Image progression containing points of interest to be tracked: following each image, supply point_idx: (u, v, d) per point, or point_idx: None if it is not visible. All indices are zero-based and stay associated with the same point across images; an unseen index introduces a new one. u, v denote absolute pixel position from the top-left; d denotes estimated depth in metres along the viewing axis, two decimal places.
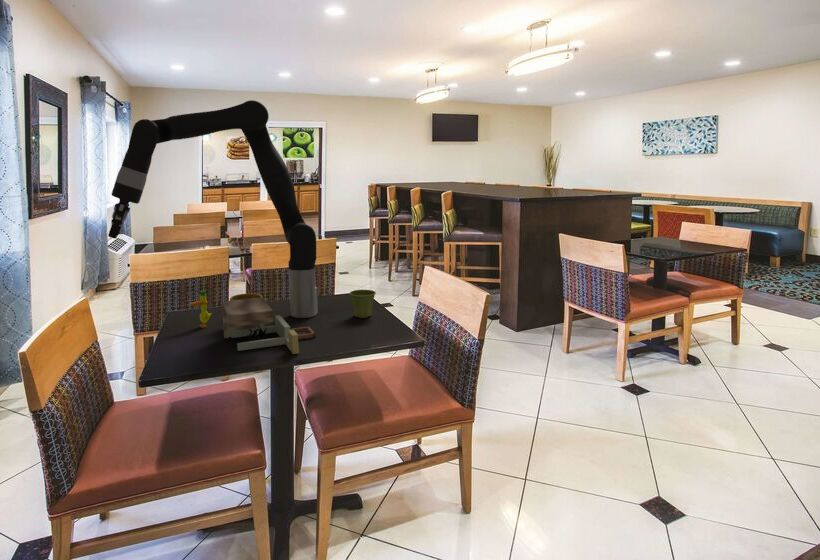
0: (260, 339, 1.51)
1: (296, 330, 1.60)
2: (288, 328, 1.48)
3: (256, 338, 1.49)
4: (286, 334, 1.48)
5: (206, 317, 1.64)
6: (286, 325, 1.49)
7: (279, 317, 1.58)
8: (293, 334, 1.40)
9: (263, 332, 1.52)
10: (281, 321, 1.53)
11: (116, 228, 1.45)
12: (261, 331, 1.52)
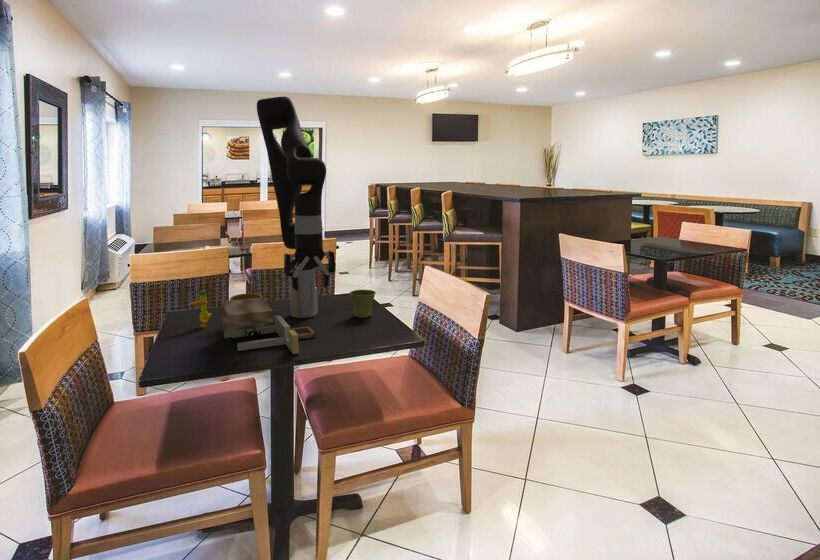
0: None
1: (296, 330, 1.60)
2: (288, 328, 1.48)
3: (250, 340, 1.47)
4: (286, 334, 1.48)
5: (206, 317, 1.64)
6: (286, 325, 1.49)
7: (279, 317, 1.58)
8: (293, 334, 1.40)
9: (258, 334, 1.50)
10: (281, 321, 1.53)
11: None
12: (256, 333, 1.50)
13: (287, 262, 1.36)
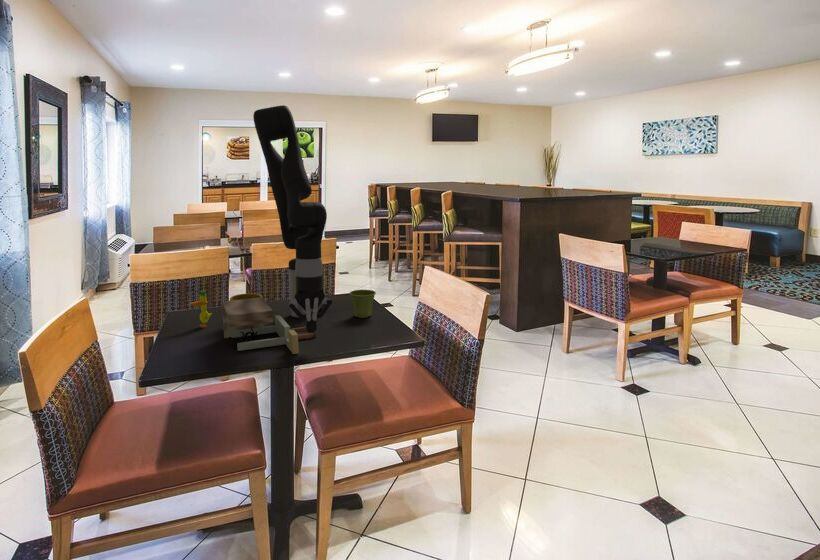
0: None
1: (296, 330, 1.60)
2: (288, 328, 1.48)
3: (246, 341, 1.46)
4: (286, 334, 1.48)
5: (206, 317, 1.64)
6: (286, 325, 1.49)
7: (279, 317, 1.58)
8: (293, 334, 1.40)
9: (255, 335, 1.49)
10: (281, 321, 1.53)
11: None
12: (253, 334, 1.49)
13: (294, 310, 1.39)
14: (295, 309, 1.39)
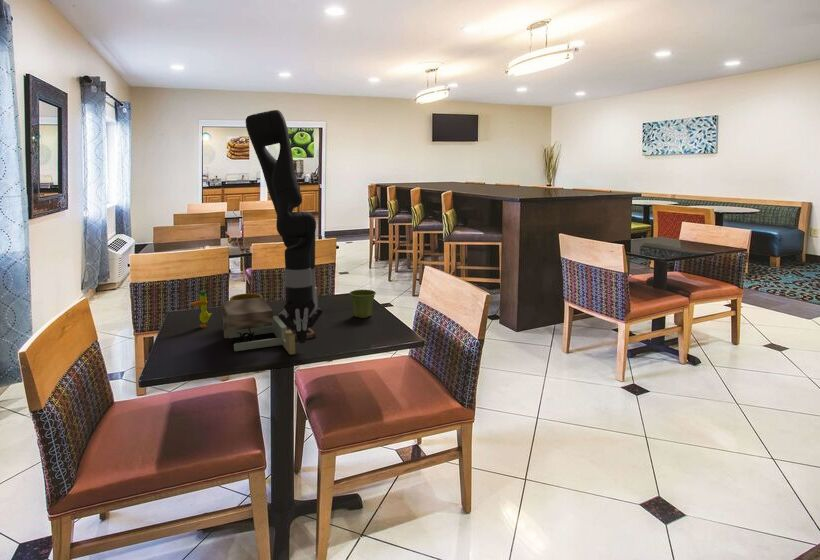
0: None
1: None
2: (285, 328, 1.48)
3: None
4: (283, 334, 1.48)
5: (206, 317, 1.64)
6: (283, 325, 1.49)
7: (276, 317, 1.57)
8: (290, 334, 1.39)
9: (252, 336, 1.48)
10: (278, 321, 1.53)
11: None
12: (250, 335, 1.48)
13: (284, 320, 1.38)
14: (285, 319, 1.38)
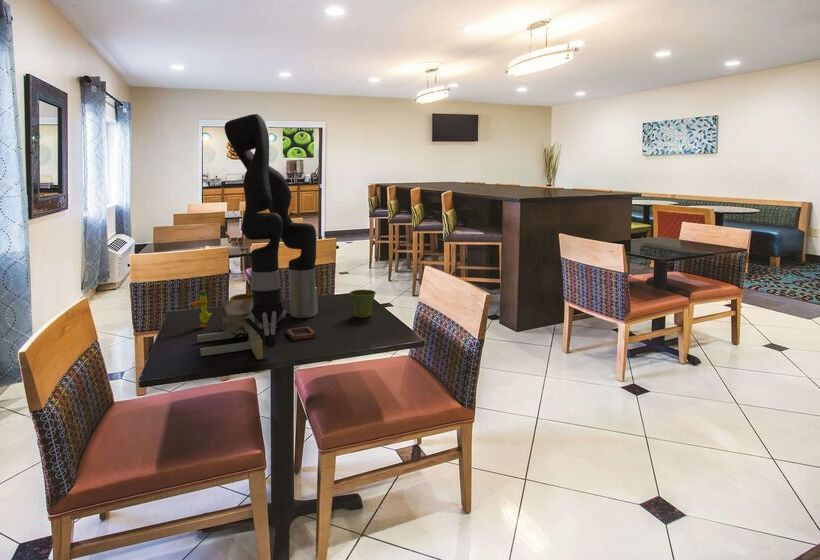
0: None
1: (296, 330, 1.60)
2: (254, 332, 1.44)
3: None
4: (252, 339, 1.44)
5: (206, 317, 1.64)
6: (252, 329, 1.45)
7: None
8: (257, 339, 1.36)
9: (246, 337, 1.47)
10: (248, 325, 1.49)
11: None
12: (244, 335, 1.47)
13: (251, 324, 1.34)
14: (252, 323, 1.35)
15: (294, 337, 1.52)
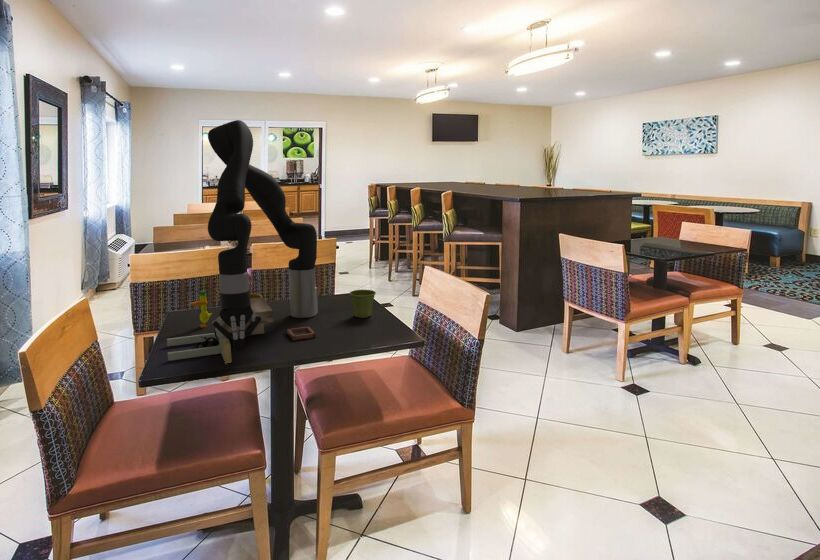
0: None
1: (296, 330, 1.60)
2: (224, 336, 1.40)
3: None
4: (222, 343, 1.40)
5: (206, 317, 1.64)
6: None
7: None
8: (225, 343, 1.32)
9: (216, 341, 1.44)
10: None
11: None
12: (215, 340, 1.44)
13: (219, 328, 1.31)
14: (220, 327, 1.31)
15: (294, 337, 1.52)
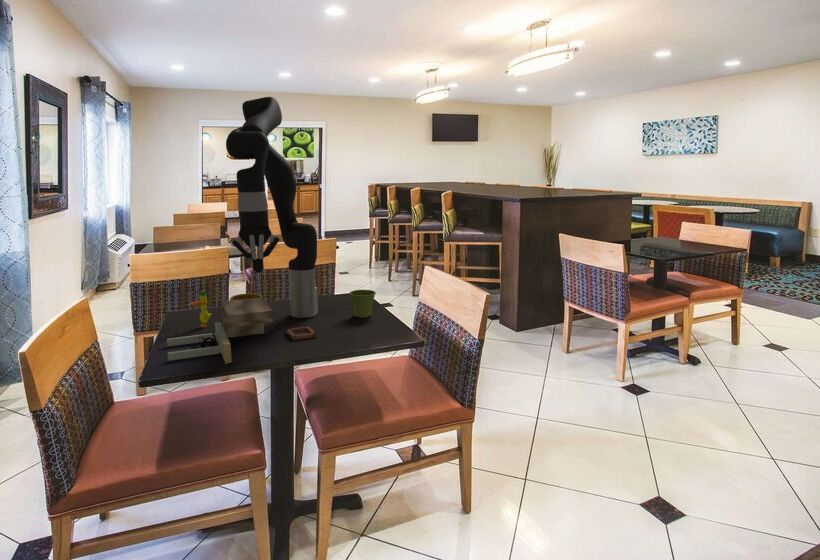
0: None
1: (296, 330, 1.60)
2: (224, 336, 1.40)
3: (203, 347, 1.41)
4: (222, 343, 1.40)
5: (206, 317, 1.64)
6: (222, 333, 1.41)
7: (218, 324, 1.50)
8: (225, 343, 1.32)
9: (214, 341, 1.43)
10: (219, 329, 1.45)
11: None
12: (213, 340, 1.44)
13: (238, 247, 1.32)
14: (239, 246, 1.33)
15: (294, 337, 1.52)
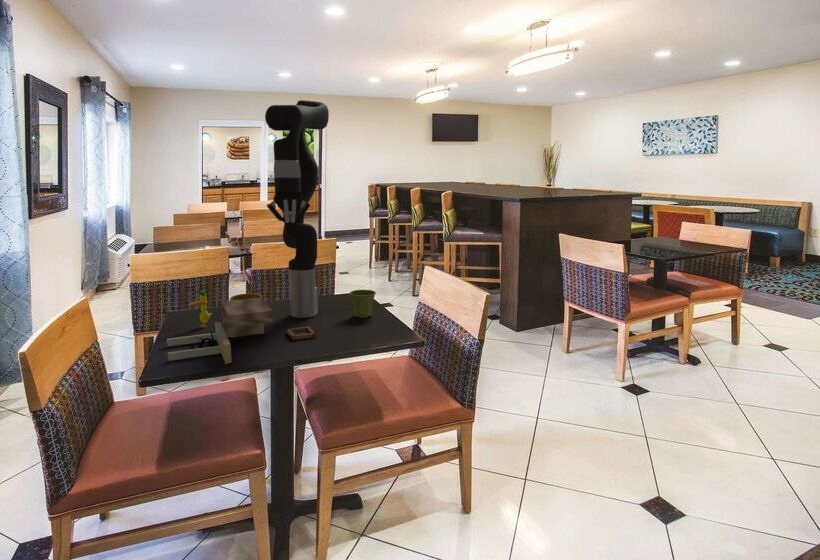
0: None
1: (296, 330, 1.60)
2: (224, 336, 1.40)
3: None
4: (222, 343, 1.40)
5: (206, 317, 1.64)
6: (222, 333, 1.41)
7: (218, 324, 1.50)
8: (225, 343, 1.32)
9: (212, 342, 1.43)
10: (219, 329, 1.45)
11: None
12: (211, 340, 1.43)
13: (273, 210, 1.45)
14: (274, 210, 1.45)
15: (294, 337, 1.52)
